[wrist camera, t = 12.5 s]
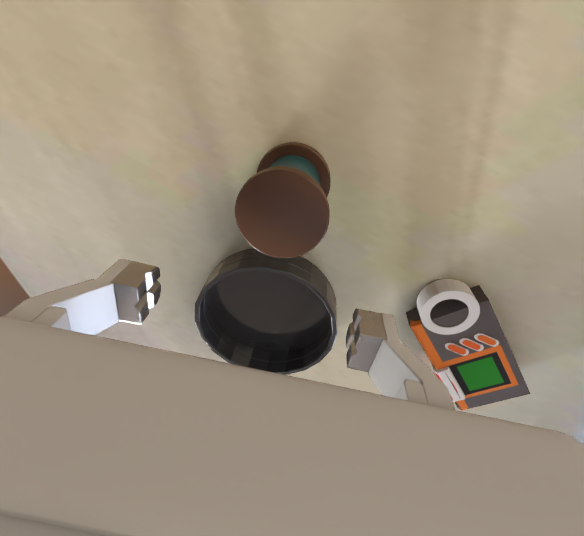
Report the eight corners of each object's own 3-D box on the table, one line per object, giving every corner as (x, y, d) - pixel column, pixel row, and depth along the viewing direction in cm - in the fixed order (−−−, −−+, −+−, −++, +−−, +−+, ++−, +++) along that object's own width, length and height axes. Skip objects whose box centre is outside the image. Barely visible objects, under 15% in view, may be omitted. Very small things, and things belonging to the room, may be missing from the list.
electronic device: (480, 280, 25) (533, 399, 31) (468, 261, 28) (518, 374, 33) (397, 311, 28) (459, 416, 33) (392, 292, 30) (451, 392, 36)
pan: (319, 360, 35) (318, 385, 33) (204, 337, 35) (194, 360, 33) (352, 264, 28) (354, 285, 26) (208, 234, 28) (195, 252, 26)
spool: (321, 220, 27) (317, 266, 21) (253, 206, 26) (231, 248, 21) (338, 150, 23) (340, 181, 18) (262, 134, 23) (238, 160, 18)
